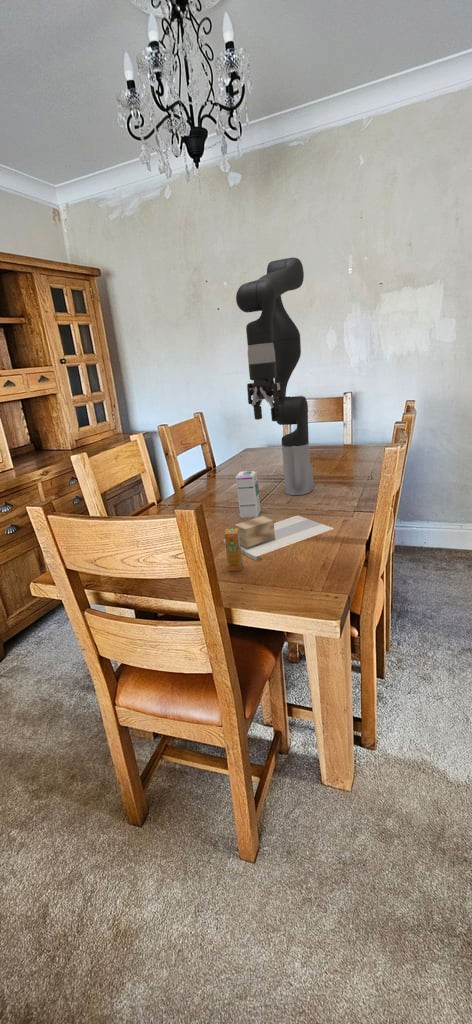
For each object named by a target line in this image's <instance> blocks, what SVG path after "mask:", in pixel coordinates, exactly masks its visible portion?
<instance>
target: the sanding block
mask: <svg viewBox="0 0 472 1024" xmlns="http://www.w3.org/2000/svg"><path fill="white" fill-rule="evenodd" d="M274 523H275V521H274V519H271V518H269V517H267V516H263V515H261V516H259V517H254V518H252V519H248V520H245V521H242V522H239V523H235V524H234V529H236V528H238V529H239V535H240V545H241V546H242V547H243V548H245V549H250V548H253V547H255V546H258V545H261V544H264V543H267V542H270V541H273V540H275V531H274Z"/></svg>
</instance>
